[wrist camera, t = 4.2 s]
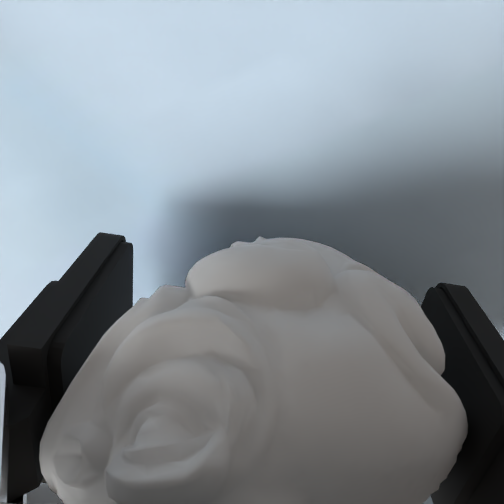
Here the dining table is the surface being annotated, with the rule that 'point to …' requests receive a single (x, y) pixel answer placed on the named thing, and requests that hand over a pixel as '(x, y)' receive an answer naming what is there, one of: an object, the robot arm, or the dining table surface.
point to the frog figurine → (261, 390)
